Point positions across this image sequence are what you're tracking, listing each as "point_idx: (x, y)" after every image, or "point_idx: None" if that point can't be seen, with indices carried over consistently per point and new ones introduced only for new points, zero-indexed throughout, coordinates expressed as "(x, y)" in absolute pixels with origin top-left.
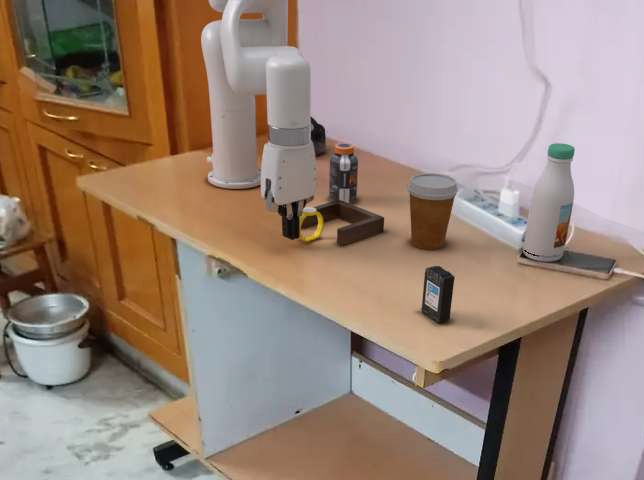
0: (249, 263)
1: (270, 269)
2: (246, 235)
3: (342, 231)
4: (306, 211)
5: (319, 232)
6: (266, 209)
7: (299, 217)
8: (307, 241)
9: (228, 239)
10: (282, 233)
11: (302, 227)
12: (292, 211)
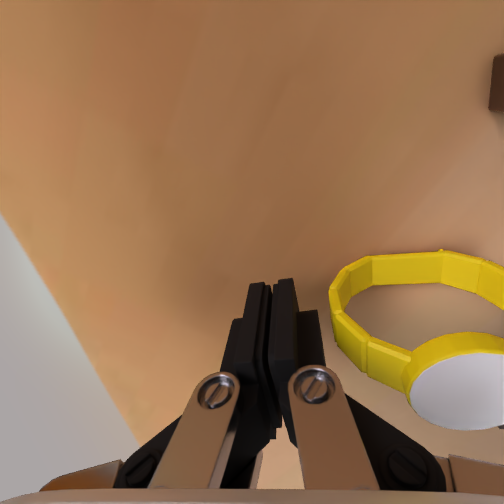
0: (82, 329)
1: (136, 384)
2: (132, 51)
3: (498, 426)
4: (426, 405)
5: (467, 287)
6: (46, 486)
7: (367, 352)
8: (370, 284)
9: (24, 66)
10: (249, 288)
11: (496, 109)
12: (293, 429)
